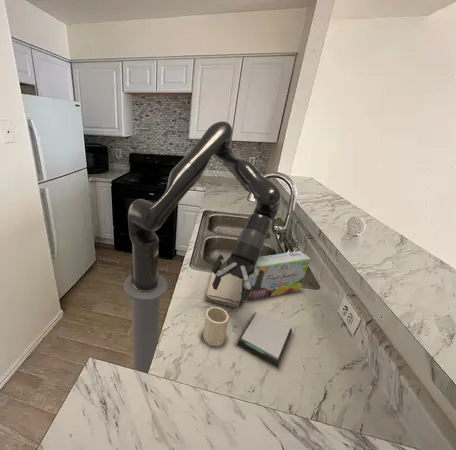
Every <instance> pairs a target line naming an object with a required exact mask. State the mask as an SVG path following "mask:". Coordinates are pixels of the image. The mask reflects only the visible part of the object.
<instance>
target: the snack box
mask: <svg viewBox="0 0 456 450" xmlns="http://www.w3.org/2000/svg"><path fill="white" fill-rule="evenodd" d="M310 263H311V256H310V257H309V256H308V255H307V254H306V253H304V252H303V251H301V250H297V251H291V252H283V253H277V254H269V255H264V256H259V258H258V260H257V262H256V265H255V269H257V270H263V271H264V277H263V280H262V283H261V286H260V289H259V291H258V292H256V291H252V292H251V293H250V295H249V298H248V300H249V301H253V300H258V299H259V300H260V299H263V298H269V297H274V296H280V295H287V294H291V293H292V294H293V293H297V292H300V290H301V287H302V284H303V281H304V278H305V275H306V273H307V271H308V268H309V265H310ZM256 279H257V277H256V276H255V273H253V274H251V275H250V276H249V280H250V283H251V286H254V285H255V282H256ZM246 288H247V287H246V284H245V281H244V282H243V285H242V293H244V290H245V289H246Z"/></svg>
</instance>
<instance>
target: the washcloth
mask: <svg viewBox="0 0 456 450" xmlns="http://www.w3.org/2000/svg"><path fill="white" fill-rule="evenodd" d="M219 271H220V270H218V272H219ZM215 277H216V275H215V274H214V273H213V272H212V271H211V276H210V280H209V282H208V287H207V288H206V289H207V290H206V293H205V300H206V301H207V302H212V303H215V304H218V305H219V304H220V305H223V306H227V307H232V308H239V306H240V303H241V301H240V300H241V298H242V294H243V291H242V290H243V279H240V278H238V277H237V276H233V275H231V274H228V275H225V276H223V277H221V281H220V284H219V286H218V288H217V290H215V289H213V286H212V284H213V282H214V279H215Z"/></svg>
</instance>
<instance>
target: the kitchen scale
mask: <svg viewBox="0 0 456 450" xmlns="http://www.w3.org/2000/svg"><path fill="white" fill-rule="evenodd" d="M292 332H293V328H291V326H289V325H286V324H284V323H282V322H280V321H278V320H276V319H274V318H271V317H269V316H268V315H265V314H262V313H261V312H259V311H255V312H254V314H253V316H252V317H251V319H250V320H249V322H248V323H247V325H246V327H245V329H244V330H243V332H242V333H241V335H240V337H239V338H238V340H237V346H239V347H241V348H243V350H246V351H248V352H250V353H251V354H253V355H254V356H256V357H258V358H259V359H261V360H263V361H265V362H267V363H268V364H270V365H272V366H274V367H275V368H279V365H280V362H281V359H282V357H283V355H284V352H285V350H286V347H287V344H288V342H289V339H290V337H291V334H292Z"/></svg>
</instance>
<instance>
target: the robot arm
mask: <svg viewBox="0 0 456 450" xmlns="http://www.w3.org/2000/svg"><path fill="white" fill-rule="evenodd" d="M233 134H234V133H233V127H232V125H231V124H230V123H229V122H228V121H217V122H215V123H213V124H212V125H210V126H209V127H208V129H207V130H206V131H205V132H204V134H202V136H201V138H200V139H199V140H198V142H197V143H196V144H195V145H194V146H193V147H192V148H191V149H190V150H189V152H188V153H187V154H186V155H185V156H184V157H183V158H182V159H180V161H178V163H177V164H176V165H175V166H174V167H173V168H172V169H171V170H170V172H169V175H168V178H167V184H166V188H165V191H164V193H163V194H162V195H161V197H160V198H158V200H157V201H155V202H152V201H150V200H146V199H144V198H137V199H135V200H134V201H132V202H131V204H130V206H129V208H128V212H127V223H128V234H129V238H130V241H131V244H132V245H131V246H132V247H131V249H132V261H131V262H130V275H131V282H132V284H133V286H134V288H135V289H136V290H138V291H140V292H151V291H153V290H155V289H156V288H157V287H158V277H159V275H158V274H159V254H160V253H159V252H160V251H159V248H160V247H159V246H160V239H159V237H158V235H157V233H155V232H156V231H157V230H159V229H160V228H161V227H162V225H163V224H164V223H165V222H166V221H167V219H168V218H169V216H170V215H171V213H172V212H173V211H174V209H175V208H176V207H177V205H178V204H179V203H180V201H181V200H182V199H183V198H184V196H186V195H187V193H188V192H189V191H190V190H191V189H192V188H193V186H195V184H196V183H197V182H199V181H200V179H201V177H202V176H203V174H204V172H205V171H206V169H207V167H208V164H209V162H210V160H211V159H212V156H213V157H214V159H216V160H217V161H219V162H220V163H221V164H222V165H223V166H224V167H225V168H226V169H227V170H228V171H229V172H230V173H231V174H232V175H233V176H234V177H235V178H236V180H237V181H238V182H239V184H240V185H241V187H242V188H243V189H244V190H245V191H246V192H248V193H251V194H252V195H253V197H254V199H255V200H256V204H255V208H254V210H253V212H252V213H251V214H249V216H248V218H247V219H246V222H245V224H244V225H243V228H242V231H241V232H240V234H239V236H238V238H237V240H236V243H235V244H234V247H233V249H232V251H231V254H230V256H229V257H228V258H227V257H226V256H223V255H222V254H219V255H218V257H217V259H216V260H215V262H214V264H213V266H212V268H211V273H212V272H213V273H214V274H215V275H216V277H215V279H214V282H213V284H212V286H213V289H215V290H217V288H218V286H219V284H220V281H221V277H223V276H225V275H228V274H231V275H233V276H237V277H238V278H240V279H242V280H244V282H245V284H246V287H247V288H246V289H245V290H244V292H242V294H241V300H240V303H245V302H247V301H248V300H249V299H248V298H249V295H250V293H251V292H252V291H256V292H258V291H259V289H260V286H261V283H262V280H263V277H264V271H263V270H257V269H255V265H256V262H257V260H258V258H259V257H260V255H261V253H262V250H263V248H264V245H265V242H266V238H267V235H268V233H269V231H270V229H271V225H272V223H273V222H274V220H275V218H276V216H277V214H278V212H279V209H280V207H281V203H282V202H281V201H282V193H281V191H280V189H279V188H278V187H277V185H275V183H274V182H272V181H271V180H270V179H268V178H267V177H265V176H264V175H263V174H262V173H261V171H260V170H259V169H258V167H256V165H254V164H253V163H252V162H251V161H249V160H247V159H245V158H242V157H239V156H238V155H236V154H235V152H234V150H233V148H232V141H233ZM225 263H226V266H225V267H224V268H222V269H220V268H221V266H222V265H223V264H225ZM218 271H219V272H218ZM253 273H255V276H256V277H257V279H256V282H255V285H254V286H251V283H250V280H249V276H250V275H251V274H253Z"/></svg>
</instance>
